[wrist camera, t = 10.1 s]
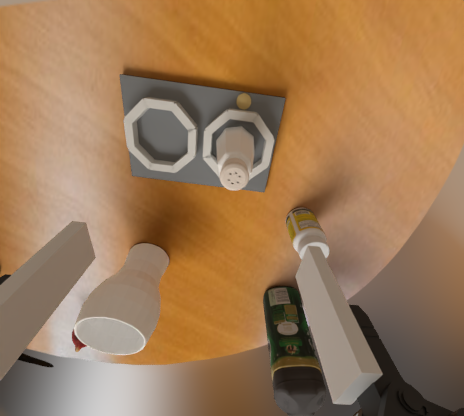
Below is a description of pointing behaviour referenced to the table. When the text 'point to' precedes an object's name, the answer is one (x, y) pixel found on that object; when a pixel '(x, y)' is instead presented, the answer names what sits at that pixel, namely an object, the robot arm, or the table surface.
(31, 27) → the table surface
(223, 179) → the pepper shaker
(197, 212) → the table surface
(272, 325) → the coffee jar
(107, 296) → the cup
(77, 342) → the onion
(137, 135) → the collar board
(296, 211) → the supplement bottle
